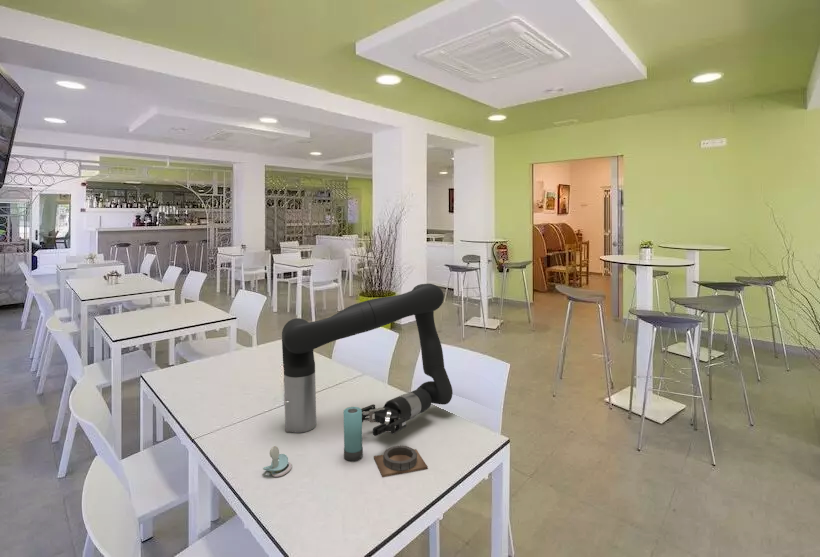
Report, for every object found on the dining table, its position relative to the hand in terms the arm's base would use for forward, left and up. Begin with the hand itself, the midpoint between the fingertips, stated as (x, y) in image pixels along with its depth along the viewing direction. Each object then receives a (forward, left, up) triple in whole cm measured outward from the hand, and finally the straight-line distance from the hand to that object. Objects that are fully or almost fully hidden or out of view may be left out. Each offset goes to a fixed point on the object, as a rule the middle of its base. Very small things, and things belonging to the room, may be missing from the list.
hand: (363, 427), depth 119 cm
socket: (+8, -9, -7) cm, 14 cm away
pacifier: (-22, -2, -7) cm, 24 cm away
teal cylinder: (-3, -2, -7) cm, 8 cm away
